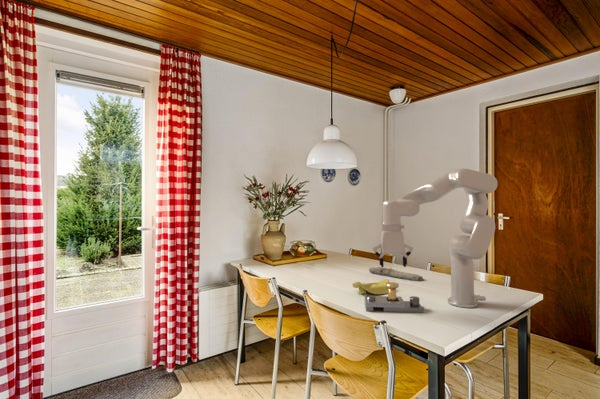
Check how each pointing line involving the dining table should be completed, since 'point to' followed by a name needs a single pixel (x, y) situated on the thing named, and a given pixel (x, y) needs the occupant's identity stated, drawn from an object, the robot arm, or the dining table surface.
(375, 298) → the grey mechanical device
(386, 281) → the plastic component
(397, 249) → the robot arm
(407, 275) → the elongated rock
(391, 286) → the brass pin
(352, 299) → the dining table surface
